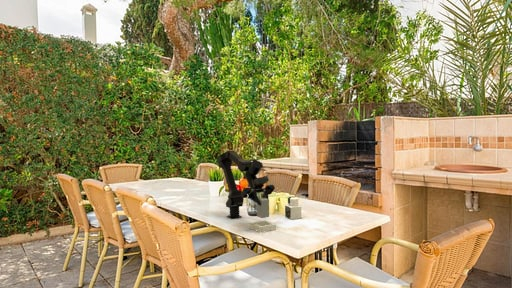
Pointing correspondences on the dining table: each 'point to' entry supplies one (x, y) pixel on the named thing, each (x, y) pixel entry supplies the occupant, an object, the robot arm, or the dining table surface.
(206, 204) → the dining table surface
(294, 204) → the yellow black printed box
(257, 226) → the tray
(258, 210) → the grey tall block
